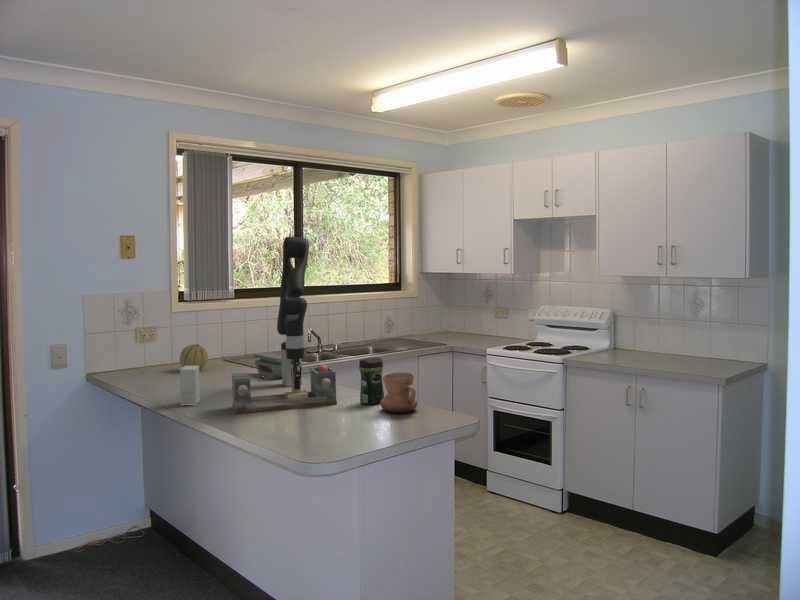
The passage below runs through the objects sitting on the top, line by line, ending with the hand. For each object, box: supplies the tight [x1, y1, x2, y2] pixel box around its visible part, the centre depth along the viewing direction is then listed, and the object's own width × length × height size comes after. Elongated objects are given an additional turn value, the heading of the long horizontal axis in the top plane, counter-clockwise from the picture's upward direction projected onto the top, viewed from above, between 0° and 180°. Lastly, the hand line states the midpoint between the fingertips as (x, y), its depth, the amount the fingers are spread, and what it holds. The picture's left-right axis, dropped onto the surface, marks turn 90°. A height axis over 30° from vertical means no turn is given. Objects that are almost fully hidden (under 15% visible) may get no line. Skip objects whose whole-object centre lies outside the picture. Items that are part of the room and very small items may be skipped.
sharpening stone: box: [253, 351, 282, 380], centre depth 325 cm, size 25×8×11 cm, turn 41°
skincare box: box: [179, 365, 201, 405], centre depth 265 cm, size 8×7×16 cm
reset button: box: [317, 364, 328, 372], centre depth 264 cm, size 4×4×4 cm
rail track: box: [231, 366, 338, 414], centre depth 259 cm, size 14×40×14 cm, turn 109°
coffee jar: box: [358, 357, 385, 405], centre depth 260 cm, size 10×8×19 cm
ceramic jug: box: [379, 371, 419, 414], centre depth 245 cm, size 18×14×14 cm
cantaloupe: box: [179, 343, 209, 371], centre depth 346 cm, size 15×15×15 cm
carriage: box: [284, 375, 308, 400], centre depth 260 cm, size 8×8×10 cm
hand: (296, 388), depth 260 cm, fingers closed on carriage, 3 cm apart
